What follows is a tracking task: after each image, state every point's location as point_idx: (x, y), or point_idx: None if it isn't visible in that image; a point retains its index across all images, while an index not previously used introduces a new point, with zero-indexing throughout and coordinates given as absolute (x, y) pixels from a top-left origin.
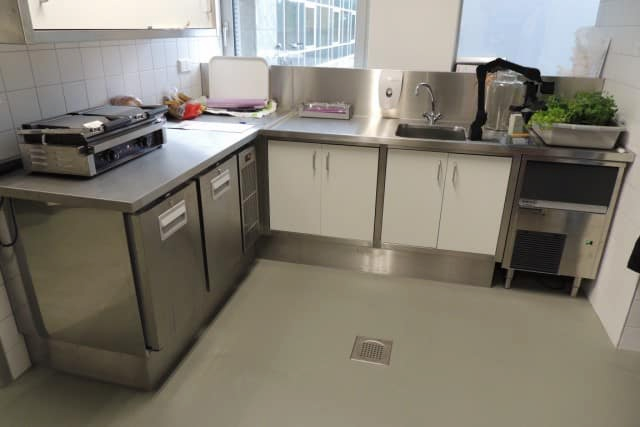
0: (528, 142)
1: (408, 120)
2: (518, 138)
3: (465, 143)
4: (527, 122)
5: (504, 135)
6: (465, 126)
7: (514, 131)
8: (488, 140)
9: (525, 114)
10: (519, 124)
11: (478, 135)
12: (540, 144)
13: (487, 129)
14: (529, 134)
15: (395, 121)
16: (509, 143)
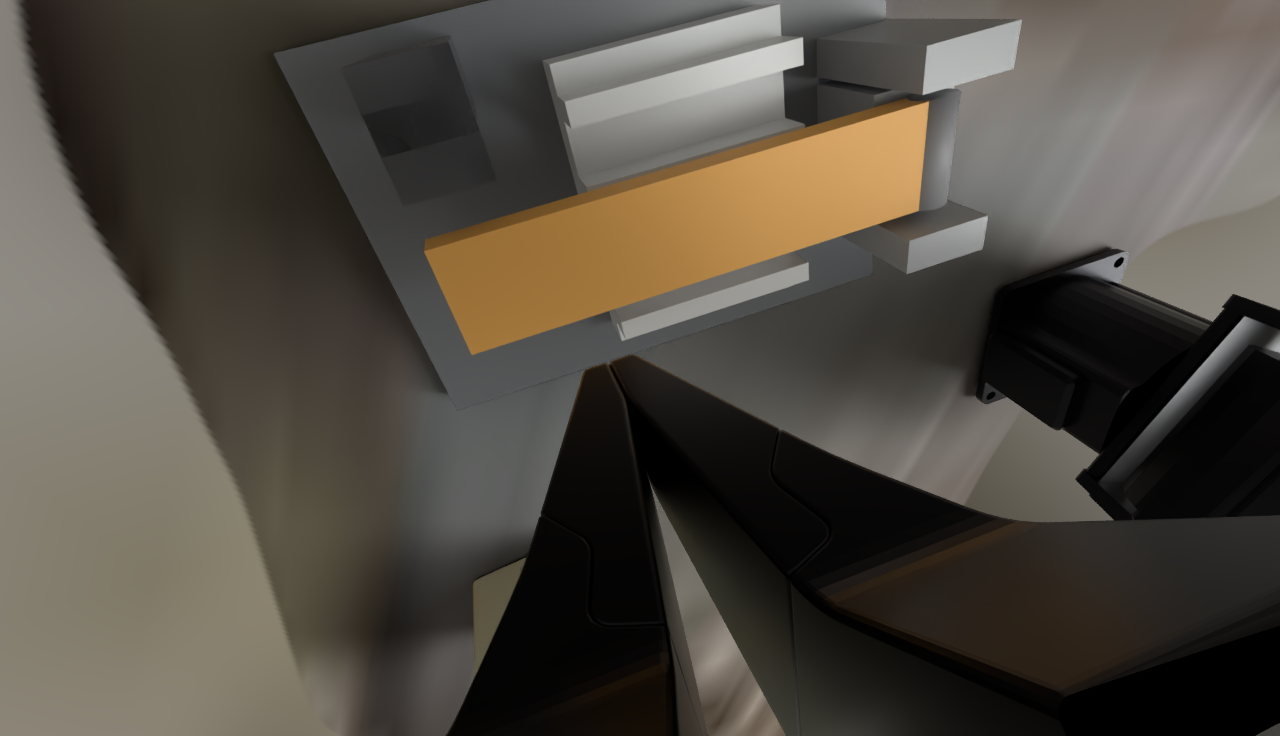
0: (466, 81)
1: None
2: (670, 157)
3: (1267, 95)
4: (601, 400)
5: (950, 151)
6: None
7: None
8: (922, 317)
9: (1076, 524)
10: None
11: (1103, 304)
12: (198, 214)
13: (719, 707)
14: (444, 274)
15: None
16: (814, 43)
